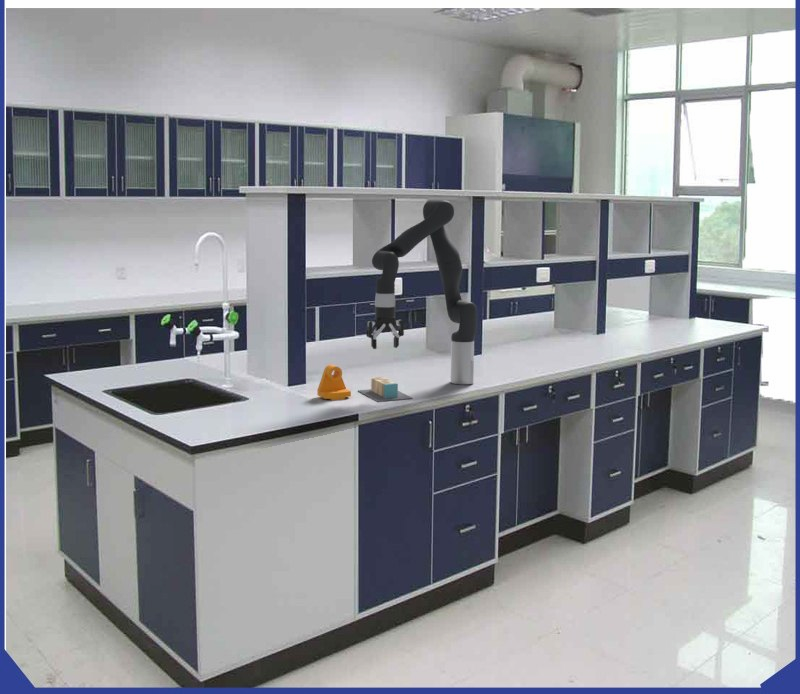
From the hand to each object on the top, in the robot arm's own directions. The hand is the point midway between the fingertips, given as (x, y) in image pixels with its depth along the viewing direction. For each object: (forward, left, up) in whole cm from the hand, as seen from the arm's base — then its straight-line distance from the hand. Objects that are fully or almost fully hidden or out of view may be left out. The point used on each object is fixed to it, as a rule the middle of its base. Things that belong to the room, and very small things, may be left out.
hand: (385, 348), depth 326 cm
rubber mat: (0, 0, -18) cm, 18 cm away
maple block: (+4, -6, -15) cm, 17 cm away
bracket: (+18, +7, -18) cm, 27 cm away
